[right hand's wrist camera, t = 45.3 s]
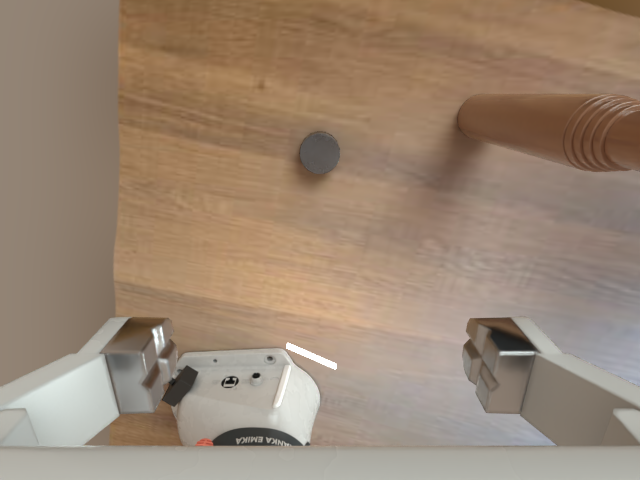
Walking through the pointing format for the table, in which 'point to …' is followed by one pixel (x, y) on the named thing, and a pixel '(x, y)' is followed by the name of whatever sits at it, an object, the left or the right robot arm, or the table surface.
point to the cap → (319, 152)
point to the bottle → (559, 127)
